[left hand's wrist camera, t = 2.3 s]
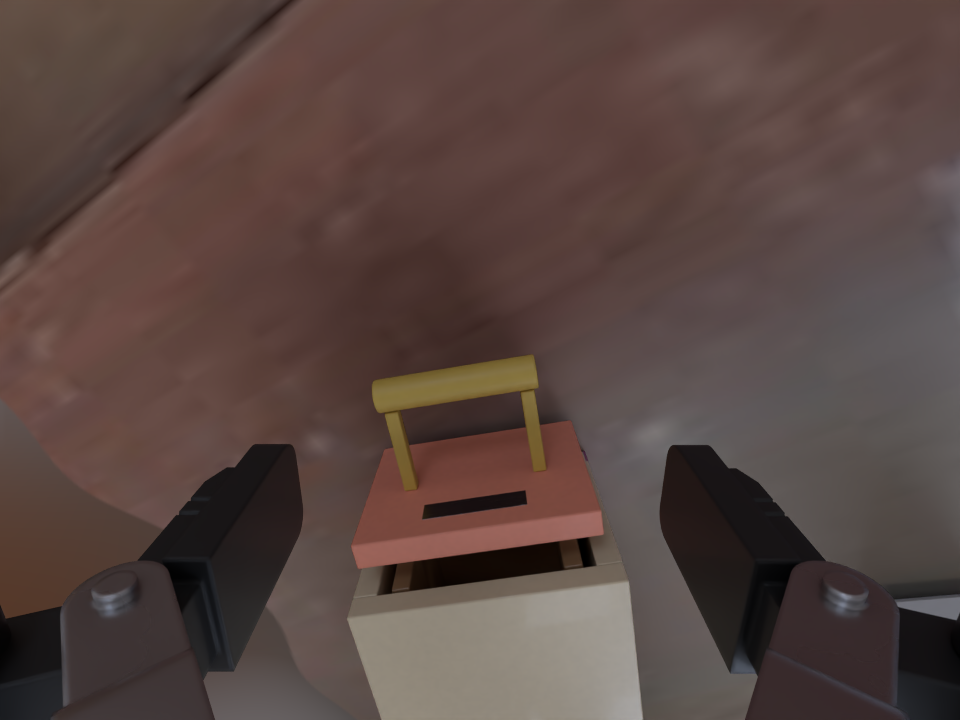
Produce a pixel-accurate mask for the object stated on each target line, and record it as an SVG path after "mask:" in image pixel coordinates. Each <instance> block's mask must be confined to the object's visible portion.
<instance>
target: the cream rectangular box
mask: <svg viewBox="0 0 960 720" xmlns="http://www.w3.org/2000/svg"><path fill="white" fill-rule="evenodd" d="M582 454H583V457H584V460H585V463H586V466H587V469H588V472H589V475H590V478H591V481H592V484H593V487H594V490H595V493H596V496H597V499H598V502H599V505H600V508H601V511H602V520H603V528H604V534H603V535H599V536H592V537H585V538H578V539H577V542H578V546H579V550H580V554H581V559H582V563H583V568H577V569H570V570H563V571H555V572H548V573H541V574H533V575H526V576H518V577H511V578H504V579H496V580H489V581H482V582H474V583H467V584H459V585H452V586H445V587H437V588H430V589H423V590H415V591H408V592H400V593H393V594H392V587H393V582H394V578H395V573H396V569H397V564H391V565H384V566H377V567H369V568H362V570H361V574H360V577H359V580H358V584H357V587H356V590H355V594H354V597H353V600H352V603H351V607H350V610H349V613H348V617H347V620H348V623H349V626H350V629H351V632H352V635H353V638H354V641H355V644H356V646H357V649H358V652H359V655H360V658H361V661H362V664H363V667H364V670H365V673H366V676H367V679H368V682H369V685H370V687H371V690H372V693H373V696H374V699H375V702H376V705H377V708H378V711H379V714H380V717H381V720H643V712H642V702H641V692H640V682H639V672H638V663H637V653H636V643H635V633H634V624H633V614H632V604H631V594H630V585H629V579H628V576H627V573H626V570H625V568H624V565H623V561H622V559H621V556H620V553H619V550H618V547H617V544H616V541H615V538H614V535H613V533H612V530H611V527H610V524H609V521H608V518H607V515H606V512H605V509H604V507H603V504H602V501H601V498H600V495H599V492H598V489H597V486H596V483H595V481H594V478H593V475H592V472H591V469H590V466H589V463H588V459H587V456H586V453H585V451H583V452H582Z"/></svg>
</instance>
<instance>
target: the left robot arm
mask: <svg viewBox="0 0 960 720" xmlns="http://www.w3.org/2000/svg"><path fill="white" fill-rule="evenodd" d="M302 520H303V504H302V497H301V489H300V482H299V475H298V468H297V460H296V454H295V450H294V448H293V446H292V445H290V444H255V445H253V446H252V447H251V448H250V449H249V450H248V452H247V453H246V454H245V455H244V457H243V458H242V459H241V460H240V462H239V463H238V464H237V466H236V467H235V468H225V469H224V470H222V471H221V472H219V473H218V474H216V475H214V476H213V477H211V478H210V479H208V480H207V481H205V482H204V483H203V484H202V486H201V487H200V488H199V489H198V490H197V491H196V493H195V494H194V495H193V496H192V497H191V501H188V502H187V503H186V504H185V506H184V507H183V508H182V509H181V510H180V511H179V515H176V516H175V517H174V518H173V520H172V521H171V522H170V523H169V524H168V525H167V527H166V528H165V529H164V530H163V531H162V532H161V534H160V535H159V536H158V537H157V538H156V539H155V541H154V542H153V543H152V544H151V545H150V547H149V548H148V549H147V550H146V551H145V552H144V554H143V555H142V556H141V557H140V558H139V559H138V561H134V562H128V563H124V564H120V565H117V566H114V567H111V568H109V569H106V570H104V571H102V572H100V573H98V574H96V575H94V576H93V577H91V578H89V579H88V580H86V581H85V582H83V583H82V584H81V585H79V586H78V587H77V588H76V589H75V590H74V591H73V592H72V593H71V594H70V595H69V596H68V597H67V599H66V600H65V602H64V603H63V606H61V607H56V608H52V609H48V610H43V611H39V612H34V613H30V614H25V615H21V616H16V617H12V618H7V619H6V618H5V616H4V613H3V611H2V608H1V606H0V720H215V718H214V715H213V712H212V708H211V705H210V702H209V698H208V695H207V692H206V689H205V685H204V682H203V680H204V678H205V676H206V674H207V672H208V671H234V670H235V668H236V666H237V663H238V661H239V659H240V657H241V655H242V653H243V651H244V649H245V647H246V645H247V643H248V641H249V638H250V636H251V634H252V632H253V630H254V628H255V626H256V624H257V622H258V620H259V618H260V616H261V614H262V611H263V609H264V607H265V605H266V603H267V601H268V599H269V597H270V595H271V593H272V591H273V589H274V587H275V584H276V582H277V580H278V578H279V576H280V574H281V572H282V570H283V568H284V566H285V564H286V562H287V560H288V557H289V555H290V553H291V551H292V549H293V547H294V545H295V543H296V541H297V539H298V537H299V534H300V531H301V526H302ZM660 523H661V529H662V533H663V536H664V538H665V540H666V542H667V544H668V546H669V549H670V551H671V553H672V555H673V557H674V559H675V561H676V563H677V565H678V567H679V569H680V571H681V573H682V575H683V577H684V579H685V581H686V583H687V585H688V588H689V590H690V592H691V594H692V596H693V598H694V600H695V602H696V604H697V606H698V608H699V610H700V612H701V614H702V616H703V618H704V620H705V622H706V624H707V627H708V629H709V631H710V633H711V635H712V637H713V639H714V641H715V643H716V645H717V647H718V649H719V651H720V653H721V655H722V657H723V659H724V661H725V663H726V666H727V668H728V670H729V672H730V674H757V676H758V678H757V682H756V685H755V688H754V692H753V695H752V698H751V702H750V705H749V708H748V712H747V715H746V718H745V720H960V613H959V615H958V618H957V620H953V619H949V618H944V617H940V616H935V615H931V614H927V613H922V612H918V611H913V610H909V609H905V608H901V607H898V606H897V603H896V602H895V600H894V599H893V597H892V596H891V595H890V594H889V593H888V592H887V591H886V590H885V589H884V588H883V587H882V586H881V585H879V584H878V583H877V582H875V581H874V580H872V579H871V578H869V577H868V576H866V575H864V574H862V573H860V572H858V571H856V570H854V569H851V568H849V567H846V566H843V565H840V564H836V563H832V562H827V561H826V560H825V559H824V558H823V557H822V556H821V555H820V553H819V552H818V551H817V550H816V549H815V548H814V547H813V545H812V544H811V543H810V542H809V541H808V540H807V538H806V537H805V536H804V535H803V534H802V533H801V531H800V530H799V529H798V528H797V527H796V526H795V524H794V523H793V522H792V521H791V520H790V519H789V518H788V516H785V515H784V512H783V511H782V509H781V508H780V507H779V506H778V505H777V504H776V502H773V499H772V498H771V497H770V495H769V494H768V493H767V492H766V491H765V490H764V489H763V487H762V486H761V485H760V484H759V483H758V482H757V481H755V480H754V479H752V478H750V477H749V476H747V475H746V474H744V473H743V472H741V471H739V470H738V469H736V468H728V467H727V466H726V465H725V464H724V462H723V461H722V460H721V459H720V457H719V456H718V455H717V454H716V452H715V451H714V450H713V449H712V448H711V447H710V446H709V445H672V446H671V447H670V448H669V450H668V454H667V460H666V467H665V474H664V481H663V488H662V495H661V503H660Z"/></svg>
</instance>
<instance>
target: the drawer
mask: <svg viewBox="0 0 960 720" xmlns="http://www.w3.org/2000/svg"><path fill="white" fill-rule="evenodd" d="M538 387H539V384H538V377H537V370H536V364H535V359H534V356H533V355H532V354H531V355H525V356H519V357H512V358H506V359H500V360H494V361H488V362H482V363H476V364H470V365H464V366H457V367H451V368H445V369H439V370H433V371H427V372H421V373H415V374H409V375H402V376H396V377H390V378H384V379H378V380H374V381H373V384H372V398H373V402H374V406H375V408H376V410H377V412H378V413H384V412H385V418H386V422H387V426H388V430H389V433H390V437H391V441H392V445H393V448H388V449H385V450H384V452H383V455H382V458H381V461H380V464H379V467H378V470H377V472H376V475H375V478H374V481H373V484H372V487H371V490H370V493H369V495H368V498H367V501H366V504H365V507H364V510H363V513H362V516H361V518H360V521H359V524H358V527H357V530H356V533H355V536H354V539H353V541H352V544H351V548H352V551H353V555H354V558H355V561H356V564H357V567H358V569H362V568H369V567H377V566H384V565H391V564H397V569H396V573H395V578H394V582H393V587H392V594H393V593H400V592H408V591H415V590H423V589H430V588H437V587H445V586H452V585H459V584H467V583H474V582H482V581H489V580H496V579H504V578H511V577H518V576H526V575H533V574H541V573H548V572H555V571H563V570H570V569H577V568H583V563H582V559H581V554H580V550H579V546H578V542H577V539H578V538H585V537H592V536H599V535H603V534H604V528H603V520H602V511H601V508H600V505H599V502H598V499H597V496H596V493H595V490H594V487H593V484H592V481H591V478H590V475H589V472H588V469H587V466H586V463H585V460H584V457H583V454H582V451H581V449H580V446H579V443H578V440H577V437H576V434H575V431H574V428H573V425H572V422H571V421H570V420H569V421H563V422H556V423H550V424H543V425H540V423H539V417H538V410H537V404H536V397H535V391H534V389H535V388H538ZM516 391H520V394H521V400H522V406H523V412H524V418H525V424H526V427H524V428H517V429H511V430H505V431H498V432H492V433H485V434H479V435H472V436H466V437H459V438H453V439H446V440H440V441H433V442H427V443H420V444H414V445H409V443H408V439H407V435H406V431H405V427H404V423H403V419H402V415H401V411H400V410H403V409H410V408H416V407H422V406H428V405H435V404H441V403H447V402H454V401H460V400H466V399H472V398H479V397H485V396H491V395H498V394H504V393H510V392H516Z"/></svg>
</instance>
